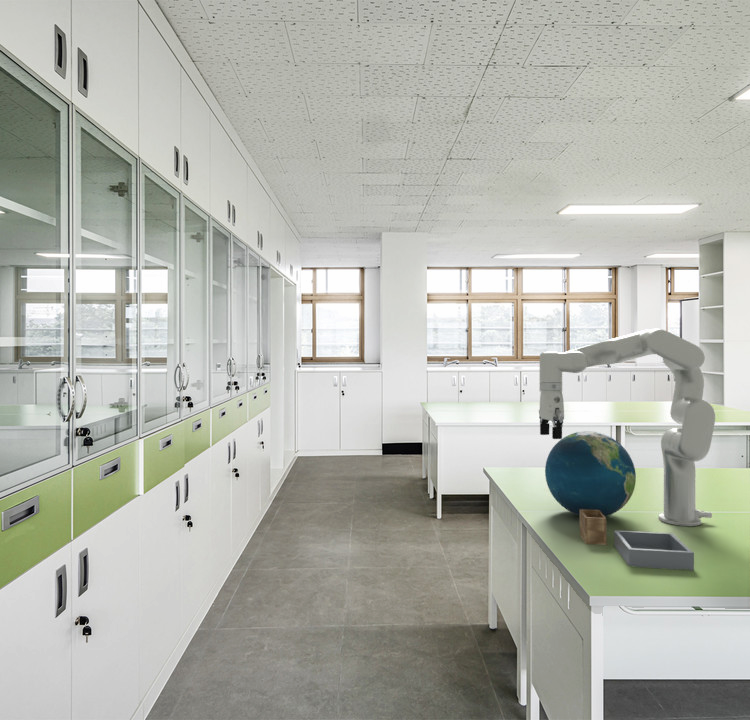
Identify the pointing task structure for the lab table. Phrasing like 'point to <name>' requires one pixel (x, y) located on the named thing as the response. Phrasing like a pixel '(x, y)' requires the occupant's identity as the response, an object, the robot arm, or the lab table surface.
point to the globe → (590, 473)
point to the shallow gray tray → (653, 550)
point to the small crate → (593, 527)
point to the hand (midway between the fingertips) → (550, 436)
